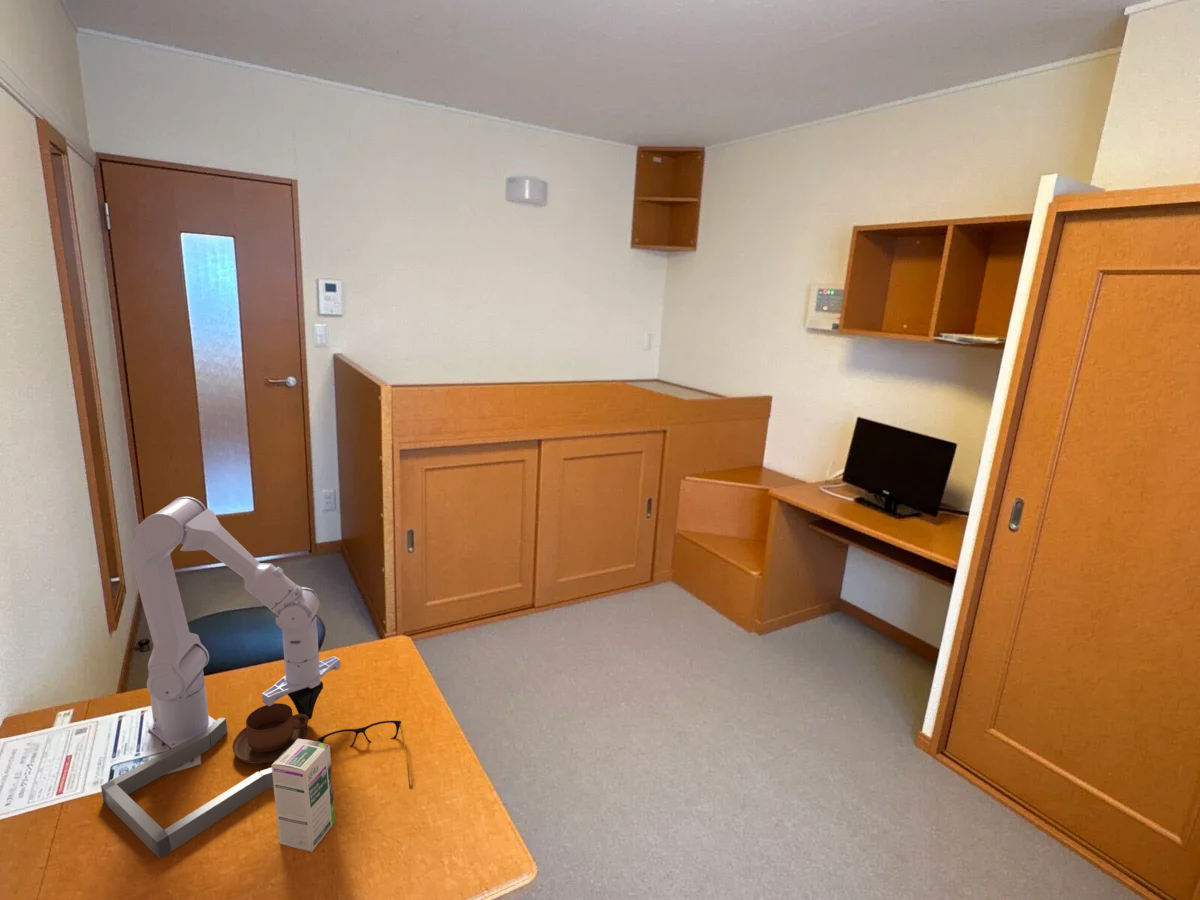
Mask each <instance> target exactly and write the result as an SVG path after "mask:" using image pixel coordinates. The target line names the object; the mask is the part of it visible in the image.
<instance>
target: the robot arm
mask: <svg viewBox="0 0 1200 900" xmlns="http://www.w3.org/2000/svg"><path fill="white" fill-rule="evenodd" d="M134 532H135V537H134V538H133V542H132V544H131V547H130V549H129V552H128V553H129V555H128V556H129V559H130V562H131V566H132V571H133V574H134V578H135V582H136V585H137V589H138V593H139V596H140V601H141V603H142V608H143V612H144V614H145V615H144V616H145V618H146V622H147V626H148V629H149V633H150V637H151V641H152V644H153V647H152V651H151V654H150V657H149V660H148V662H147V670H148V677H147V680H146V689H147V691H148V692H149V694H150V696H149V698H150V700H149V701H150V705H151V706H150V707H151V712H152V719H153V720H152V722H153V723H151V724H150V725H149V726H148V727H147V729H148V731H150V732H151V733H152V734H153V735H155V736H156V738H158V739H159V740H161V741H162V743H164V744H165V745H167V746H168V747H169V748H170V749H172V748H173V747H175V746H177V745H179V744H181V743H183V742H185V741H187V740H189V739H191V738H192V737H194V736H196V735H198V734H200V733H202V732H204V731H206V730H207V729H208V728H209V727H210V726H211V725H212V724H213V723H214V722H215V721H217V719H214V718H213V717H212V716H210V715H209V709H208V699H207V693H206V692H207V691H206V682H205V677H204V676H205V675H204V668H205V667H206V666H207V665H208V663H209V661H210V653H209V651H208V650H207V647H205V646H204V645H203V644H202V642H201V640H200V637H199V636H200V635H198V634H197V633H193V632H190V628H189V625H188V621H187V616H186V613H185V609H184V605H183V602H182V601H183V600H182V597H181V593H180V589H179V585H178V580H177V577H176V573H175V568H174V564H173V560H172V557H171V553H172V552H173V551H174V550H175V549H176V548H177V546H179V545H180V544H181V545H182V546H181V548H180V549H179V551H181V552H192V551H193V552H194V551H205V552H207V553H209V554H210V555H211V556H213V557H214V558H215V559H217V560H218V561H220V562H221V563H222V564H224V565H225V566H226V567H228V568H229V569H231V570H232V571H233V572H235V573H236V574H238V575H239V576H240V577H241V578H243V585H244V589H245V590H246V591H247V592H248V593H249V594H251V595H252V596H253V597H254V598H256V599H257V600H258V601H260V603H261V604H263V605H264V606H265V607H266V608H268V610H270V611H272V613H274V614H275V615H277V616H276V617H275V623H276V625H277V626H278V628H279V629H280V630H281V631H282V645H283V658H284V659H283V661H284V672H285V675H284V676H282V678H280V679H279V680H277V682H276V683H275V684H273V685H272V686H271V687H269V688H268V689H267V690H265V691H263V692H262V693H261V699H262V703H263V704H264V705H268V706H271V705H273V704H275V701H277V700H279V699H280V698H282V697H284V696H286V695H287V696H288V697H289V698H290V700H291V702H292V703H293V704H294V707H295V709H296V711H297V714H305V715H307V716H308V718H309V720H311V719H312V718H313V714H314V709H315V705H316V703H317V699H318V698H319V695H320V693H321V692H322V690H323V689H324V683H323V681H321V679H322V678H323V677H325V675H326V674H327V673H329V672H331V671H332V670H334V671H337V670H339V669H341V658H338V657H337V656H335V655H333V656H331V657H328V658H325V659H323V660H320V657H319V656H320V655H319V642H318V641H319V637H318V627H317V616H316V613H317V612H318V609H319V608H320V603H321V601H320V598H319V597H320V596H318V594H317V593H316V592H315V590H314V589H312V588H309V587H306V586H301V585H299V584H296V583H295V582H293V581H292V580H291V579H290V578H289V577H288V576H286V574H284V572H285V571H284V570H283V568H281V567H280V566H277V567H276V566H275V565H274V564H273V563H267V562H263V563H261V562H260V561H258V559H256V558H255V557H254V556H253V555H252V554H251V553H250V552H249V551H248V550H247V549H246V548H245V547H244V546H243V545H242V544H241V543H240V542H239V541H238V540H237V539H236V538H234V537H233V536H232V534H231V533H230V532H229V531H227V530H226V529H225V528H224V527H223V525H222V524H221V523H220V521H219V519H218V517H217V516H216V514H215V512H214V511H212V510H211V509H209V508H207V507H206V506H205V504H204V503H203V502H201V501H200V500H199V499H197V498H195V497H192V496H181V497H177V498H175V499H174V500H172V501H171V502H170V503H169V504H168V505H166V506H165V507H163V508H161V509H160V510H158V511H157V512H155V513H153V514H150V515H149V516H148V517H145V518H144V520H143V521H141V522H140V523H139V524H138V525H137V526H136V527H135V528H134ZM300 718H301V719H303V720H304V721H305V719H304V718H302V717H300Z"/></svg>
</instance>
